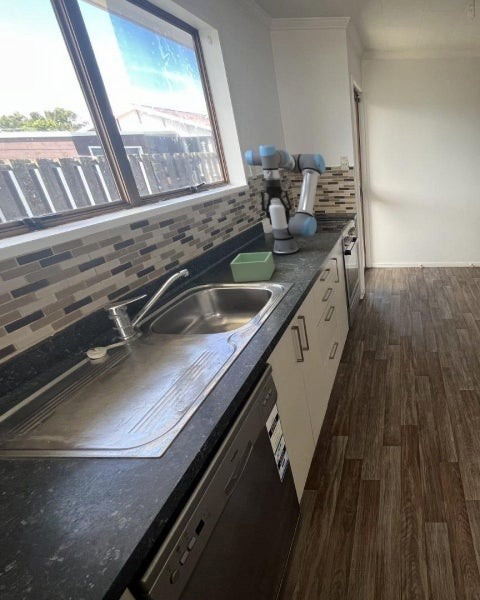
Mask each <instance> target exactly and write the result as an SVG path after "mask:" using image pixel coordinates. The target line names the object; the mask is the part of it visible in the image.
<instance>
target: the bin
mask: <svg viewBox="0 0 480 600" xmlns="http://www.w3.org/2000/svg"><path fill="white" fill-rule="evenodd" d="M229 266H230V268H231V273H232V277H233V281H234V283H245V282H259V281H260V282H261V281H270V280H271V277H272V276H273V274H274V272H275V270H276V267H275V262H274V255H273V251H262V252H246V253H238V255H237V256H236V257H235V258H234V259H233V260H232V261H231V262H230V264H229Z"/></svg>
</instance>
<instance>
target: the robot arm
mask: <svg viewBox="0 0 480 600" xmlns="http://www.w3.org/2000/svg"><path fill="white" fill-rule="evenodd" d="M244 159H245V162H246V164H247V165H249V166H253V167H256V166H258V167H262V172H263V178H264V185H265V190H261V191H260V192H259V193H260V196H261V211H262V212H265V215H266V218H267V219H268V220H269V225H270V226H271V227H272V221H271V216H270V210H269V206H270V205H272V204H271V199H280V201H281V202H282V203H281V204H283V206H284V207H285V214H286V221H287V224H288V227H287V228H285V229H273V227H272V233H273V239H274V244H273V254H274V255H277V256H286V255H287V256H288V255H293V254H296V253H298V252H299V250H300V248H299V246H298V244H297V242H296V240H295V237H304V238H307V237H313V236H314V235H315V233H316V232H317V226H318V224H317V223H318V222H317V220H316V218H315V215H314V214H313V211H314V206H315V199H316V193H317V186H318V180H320V179H321V177H322V175H324V174H325V173H326V163H325V162H326V161H325V159H324V156H322V155H321V154H319V153H297V154H289V152H288V151H287V150H284V149H276V146H275V145H260V146H259V149H250V150H246V151H245V153H244ZM280 169H281V170H284V171H285V172H291V173H295V174H299V175H300V174H302V176H303V178H302V185H301V189H300V196H299V202H298V209H297V211H295V212H294V216H291V215H292V214H291V213H290V211H292V210H293V205H292V202H291V199H290V195H289V190H288V189H283V188H282V187H283V186H282V182H281V179H280V178H281V177H280V176H281V174H280ZM282 194H283V195H285V199H286V201H287V203H286V201H285V199H284V197H283V196H282ZM266 195H267V196H268V200H267V204H266Z"/></svg>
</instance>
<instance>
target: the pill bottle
mask: <svg viewBox="0 0 480 600" xmlns="http://www.w3.org/2000/svg"><path fill="white" fill-rule="evenodd" d="M269 211H270V216H271V221H272V225H271V227H273V228H272V230H273V229H285V228H287V227H288V224H287V221H286V214H285V211H286V209H285V207H284V206H283V204H282V202H281V201H280V199H279V198H272V199H271V204H270V206H269Z"/></svg>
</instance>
